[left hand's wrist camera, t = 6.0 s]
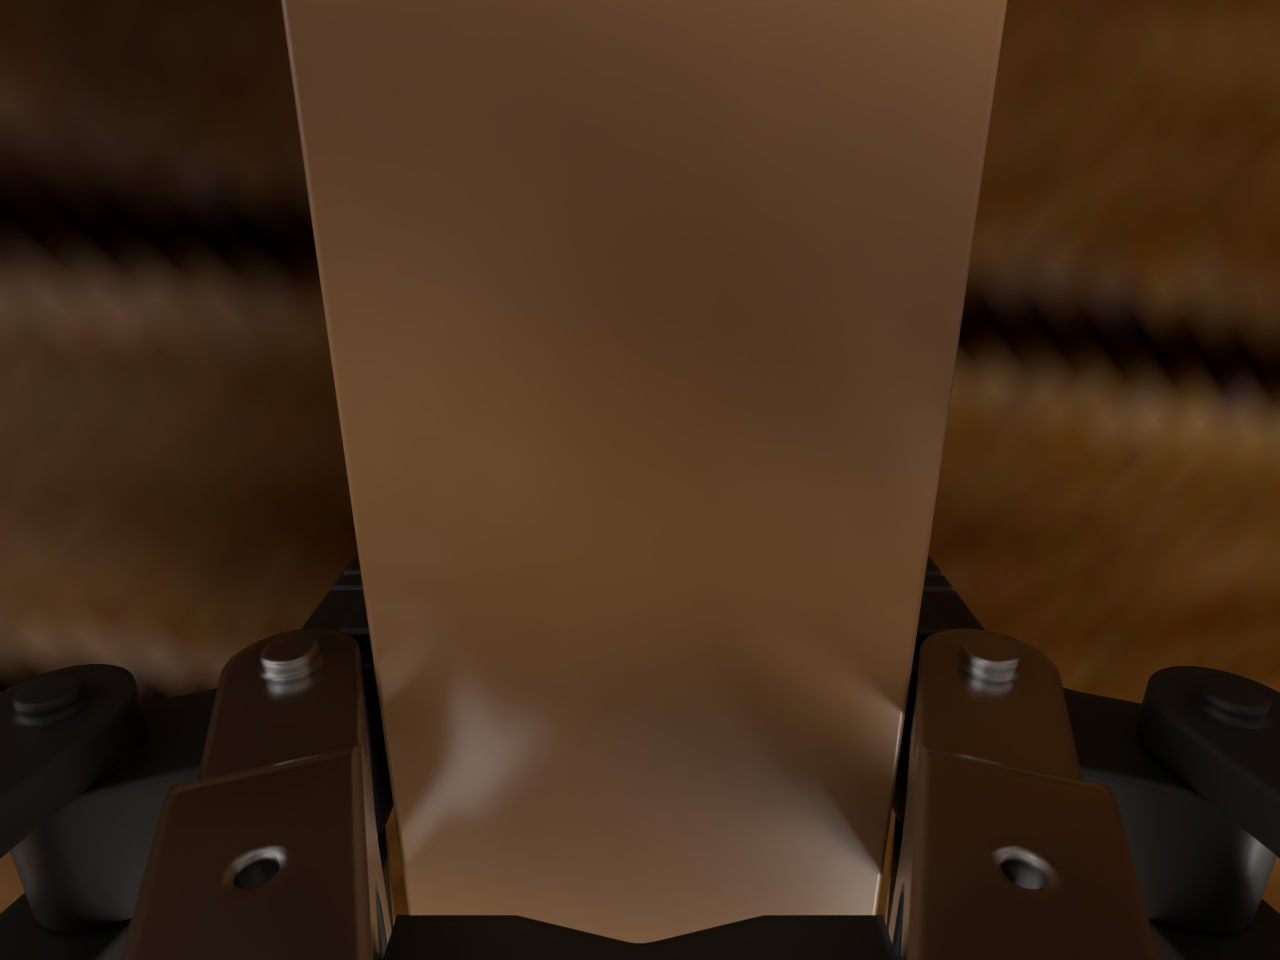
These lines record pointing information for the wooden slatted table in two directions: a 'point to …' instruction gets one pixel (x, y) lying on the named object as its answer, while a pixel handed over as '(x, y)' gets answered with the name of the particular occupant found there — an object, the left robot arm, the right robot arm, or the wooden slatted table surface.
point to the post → (643, 427)
